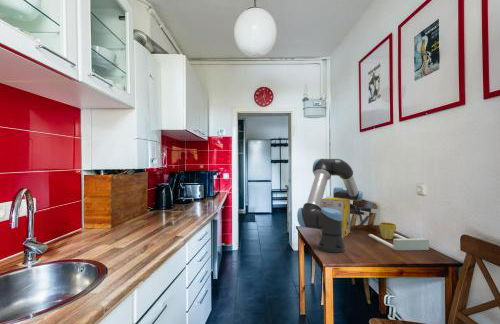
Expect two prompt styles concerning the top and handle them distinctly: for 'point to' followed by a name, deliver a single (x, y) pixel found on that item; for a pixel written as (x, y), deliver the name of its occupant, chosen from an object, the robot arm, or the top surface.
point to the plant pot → (387, 230)
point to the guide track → (406, 243)
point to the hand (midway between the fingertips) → (374, 212)
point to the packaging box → (343, 207)
